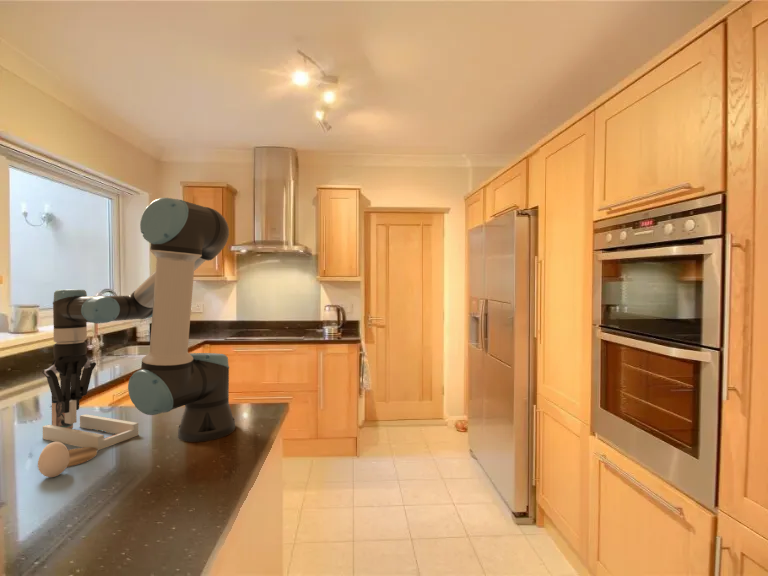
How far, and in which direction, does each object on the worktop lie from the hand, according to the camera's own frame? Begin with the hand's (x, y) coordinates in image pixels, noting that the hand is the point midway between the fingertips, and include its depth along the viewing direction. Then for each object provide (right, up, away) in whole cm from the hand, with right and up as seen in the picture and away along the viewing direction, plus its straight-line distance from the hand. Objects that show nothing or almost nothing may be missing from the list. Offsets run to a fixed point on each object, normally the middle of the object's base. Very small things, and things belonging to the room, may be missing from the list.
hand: (70, 422), depth 110 cm
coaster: (+14, -3, -17) cm, 23 cm away
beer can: (-4, -3, +1) cm, 5 cm away
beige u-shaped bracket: (+8, -3, -3) cm, 9 cm away
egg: (+18, -3, -26) cm, 31 cm away
